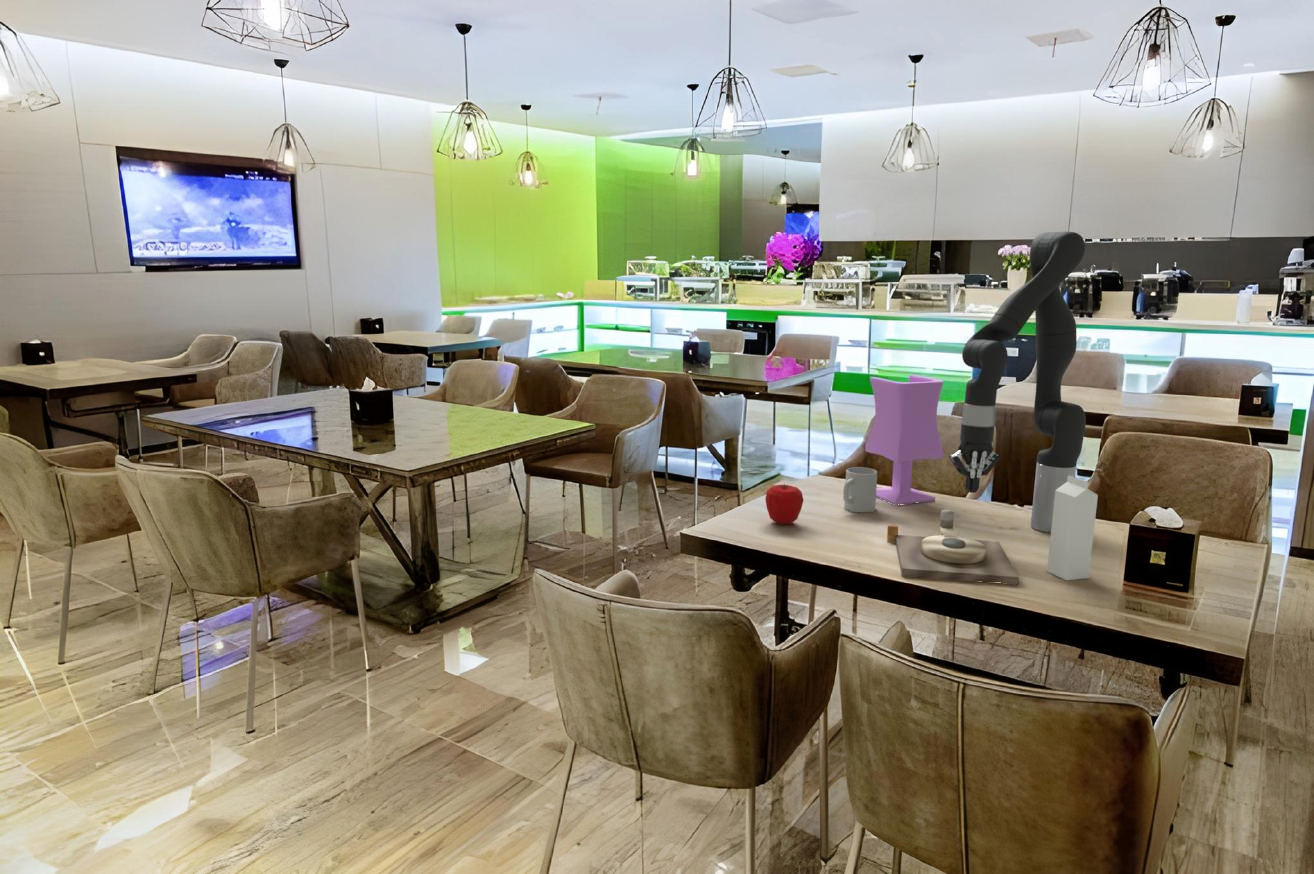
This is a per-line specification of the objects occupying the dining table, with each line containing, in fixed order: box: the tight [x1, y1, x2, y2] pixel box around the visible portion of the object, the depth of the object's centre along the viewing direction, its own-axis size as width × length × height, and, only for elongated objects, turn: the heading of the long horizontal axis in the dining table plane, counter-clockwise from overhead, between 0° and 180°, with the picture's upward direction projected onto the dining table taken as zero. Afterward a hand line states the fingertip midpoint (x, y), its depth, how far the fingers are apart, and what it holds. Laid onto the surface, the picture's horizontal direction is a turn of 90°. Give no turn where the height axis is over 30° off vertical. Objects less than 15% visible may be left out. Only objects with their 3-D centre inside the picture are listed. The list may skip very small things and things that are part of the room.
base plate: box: [886, 522, 1019, 585], centre depth 196 cm, size 26×26×4 cm
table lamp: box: [864, 374, 945, 506], centre depth 245 cm, size 16×16×35 cm
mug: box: [842, 466, 878, 513], centre depth 235 cm, size 12×8×11 cm
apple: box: [765, 483, 804, 526], centre depth 222 cm, size 10×10×11 cm
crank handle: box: [921, 509, 986, 564], centre depth 198 cm, size 22×14×6 cm, turn 168°
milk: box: [1046, 476, 1099, 581], centre depth 185 cm, size 6×6×22 cm
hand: (971, 491), depth 208 cm, fingers closed
